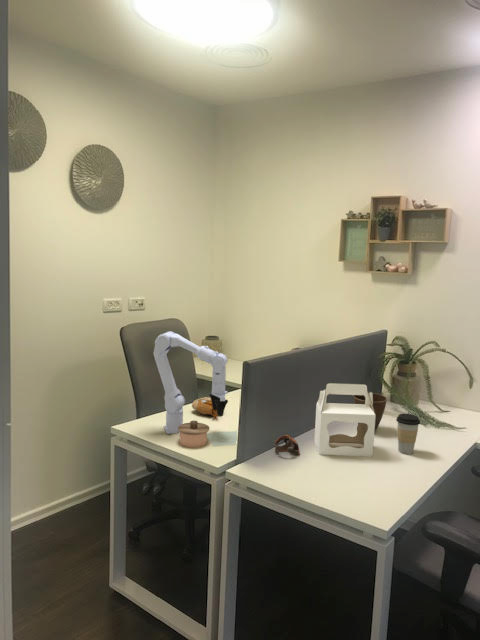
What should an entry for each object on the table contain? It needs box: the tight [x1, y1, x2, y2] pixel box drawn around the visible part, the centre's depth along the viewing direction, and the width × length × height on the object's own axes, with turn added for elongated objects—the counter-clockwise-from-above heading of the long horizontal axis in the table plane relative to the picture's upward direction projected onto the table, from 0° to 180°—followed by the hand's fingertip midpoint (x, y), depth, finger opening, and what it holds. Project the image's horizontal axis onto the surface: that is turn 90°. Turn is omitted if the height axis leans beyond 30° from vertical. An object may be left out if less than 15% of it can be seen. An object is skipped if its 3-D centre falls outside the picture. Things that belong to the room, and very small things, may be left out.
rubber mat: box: [207, 430, 238, 447], centre depth 216 cm, size 15×15×1 cm
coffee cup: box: [395, 413, 421, 455], centre depth 209 cm, size 9×9×15 cm
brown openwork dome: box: [274, 433, 301, 456], centre depth 205 cm, size 12×10×8 cm
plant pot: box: [353, 392, 388, 433], centre depth 233 cm, size 15×15×16 cm
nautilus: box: [191, 396, 219, 420], centre depth 247 cm, size 8×22×15 cm
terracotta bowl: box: [179, 432, 208, 448], centre depth 210 cm, size 11×11×6 cm
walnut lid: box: [178, 420, 210, 435], centre depth 210 cm, size 13×13×3 cm
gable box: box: [313, 382, 376, 457], centre depth 208 cm, size 22×13×28 cm, turn 90°
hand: (217, 412), depth 219 cm, fingers open, 7 cm apart
